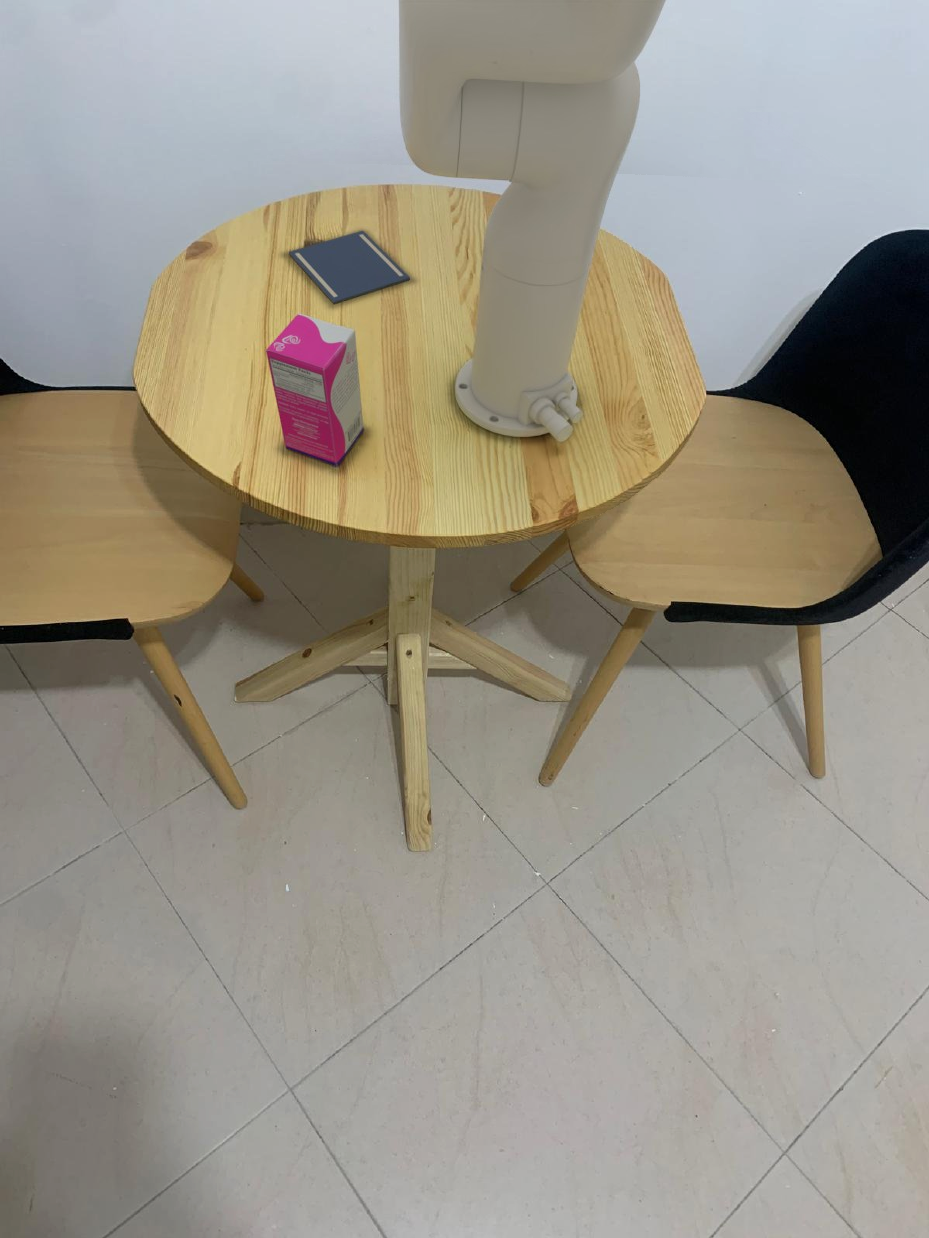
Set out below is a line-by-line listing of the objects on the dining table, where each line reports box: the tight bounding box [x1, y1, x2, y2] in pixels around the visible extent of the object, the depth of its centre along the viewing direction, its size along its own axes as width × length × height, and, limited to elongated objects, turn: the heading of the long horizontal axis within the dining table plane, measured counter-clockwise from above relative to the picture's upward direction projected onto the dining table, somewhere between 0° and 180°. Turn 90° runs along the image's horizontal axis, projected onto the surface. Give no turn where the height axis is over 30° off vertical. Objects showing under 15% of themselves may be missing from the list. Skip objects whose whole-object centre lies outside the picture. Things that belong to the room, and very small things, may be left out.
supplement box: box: [265, 313, 365, 468], centre depth 70 cm, size 6×6×12 cm
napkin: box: [288, 230, 411, 305], centre depth 90 cm, size 11×10×1 cm
